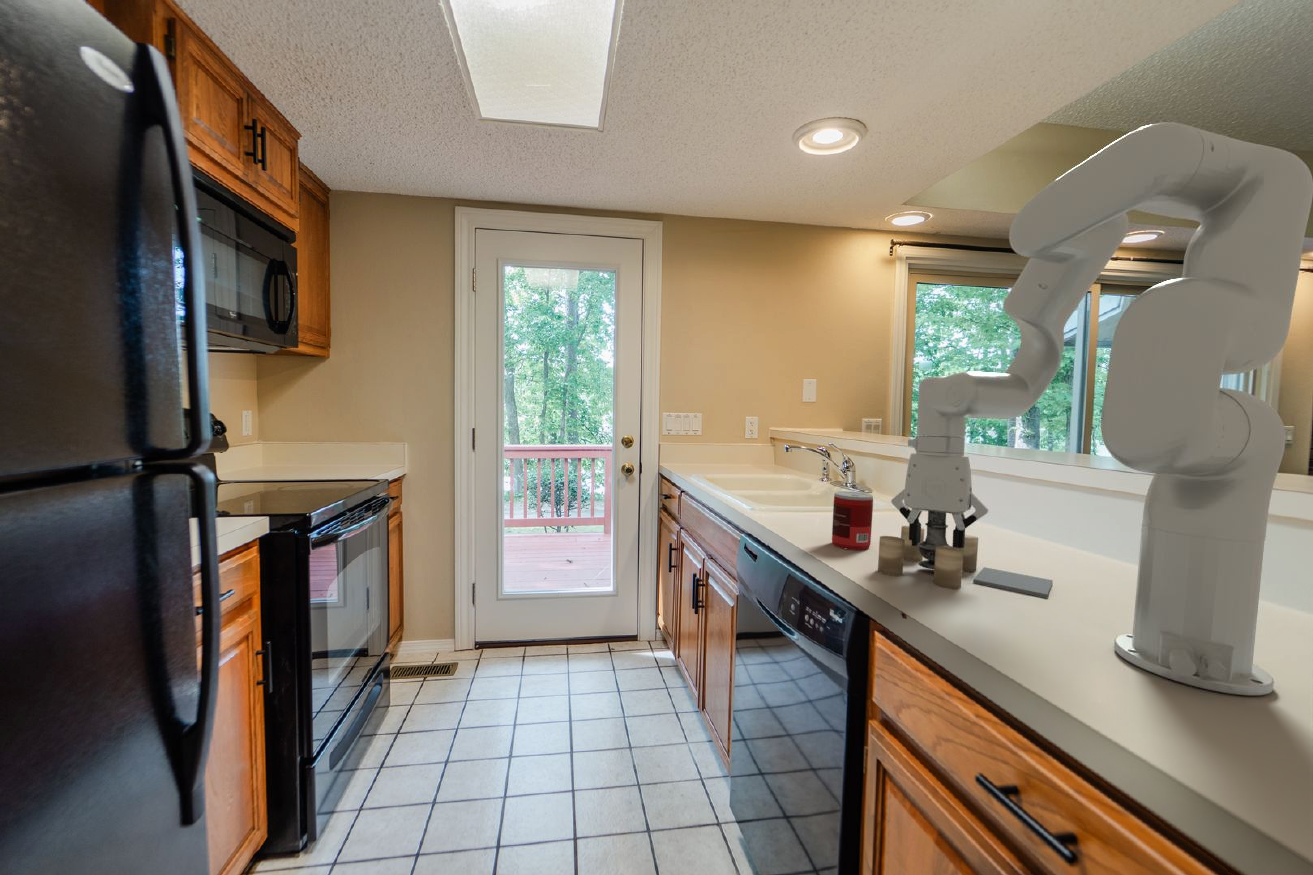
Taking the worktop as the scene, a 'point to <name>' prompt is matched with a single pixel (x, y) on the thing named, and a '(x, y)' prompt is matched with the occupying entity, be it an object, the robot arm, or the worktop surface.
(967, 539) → the dowel back right
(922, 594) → the worktop surface
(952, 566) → the dowel front right
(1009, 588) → the coaster
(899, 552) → the dowel front left
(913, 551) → the dowel back left
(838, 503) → the canned food
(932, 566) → the salt shaker
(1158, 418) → the robot arm
